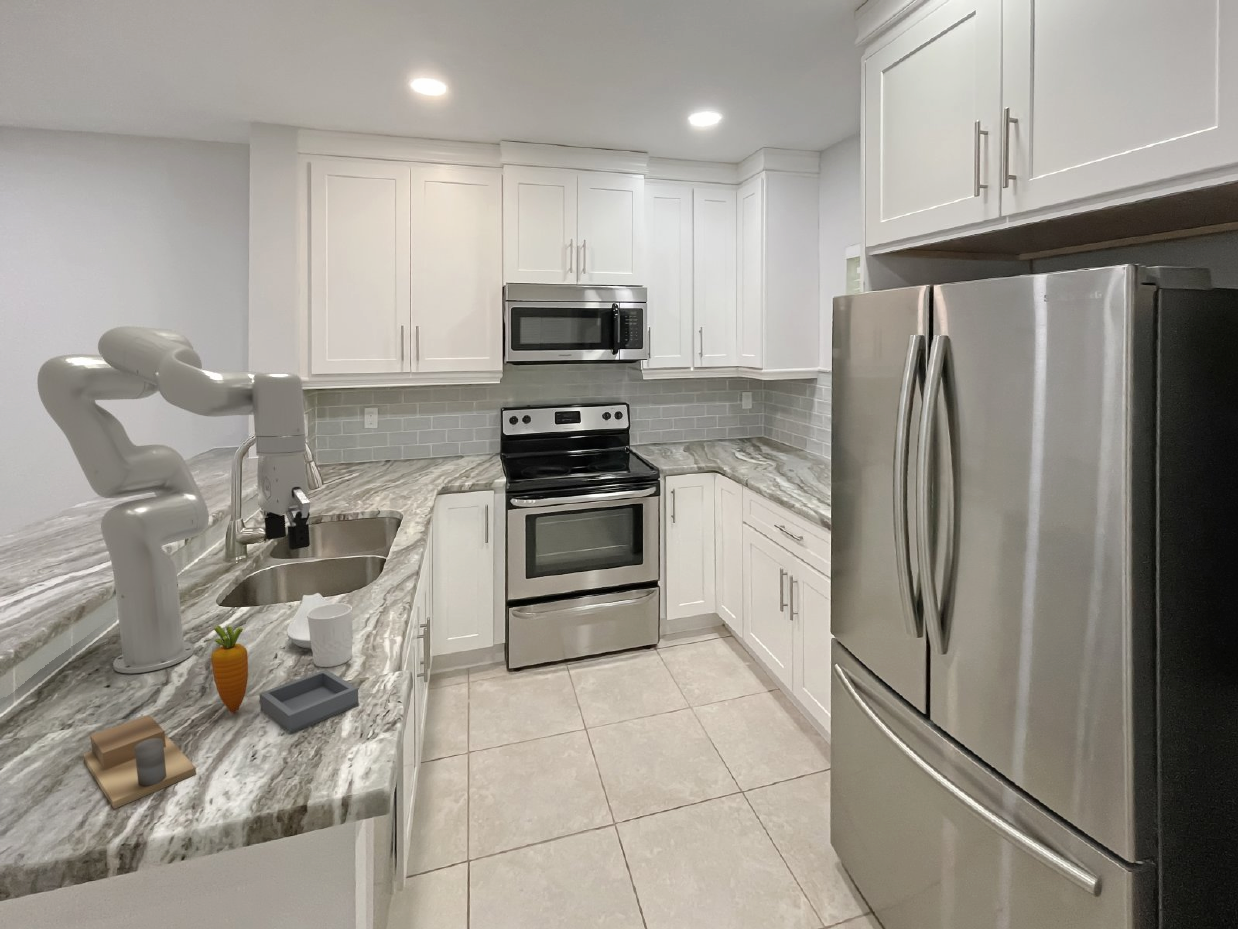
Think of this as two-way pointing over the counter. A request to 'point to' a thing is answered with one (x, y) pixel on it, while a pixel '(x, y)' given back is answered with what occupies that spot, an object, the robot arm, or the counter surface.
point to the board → (128, 775)
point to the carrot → (230, 668)
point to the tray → (308, 700)
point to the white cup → (331, 634)
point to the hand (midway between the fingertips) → (287, 542)
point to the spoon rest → (304, 620)
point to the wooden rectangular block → (124, 740)
